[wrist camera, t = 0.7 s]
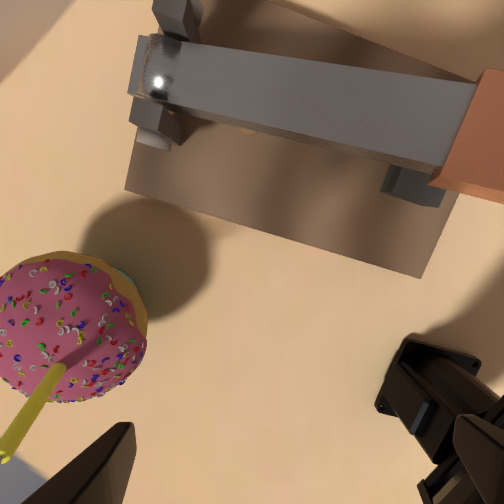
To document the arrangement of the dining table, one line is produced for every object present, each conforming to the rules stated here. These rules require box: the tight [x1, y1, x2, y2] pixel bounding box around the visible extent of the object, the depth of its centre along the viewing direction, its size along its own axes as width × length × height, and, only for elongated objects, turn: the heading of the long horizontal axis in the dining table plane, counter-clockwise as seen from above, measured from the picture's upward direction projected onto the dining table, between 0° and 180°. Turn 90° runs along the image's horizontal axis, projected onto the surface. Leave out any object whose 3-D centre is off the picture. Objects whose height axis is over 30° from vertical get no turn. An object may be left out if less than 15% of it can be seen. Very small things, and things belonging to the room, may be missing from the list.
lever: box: [127, 34, 504, 204], centre depth 11 cm, size 18×3×2 cm, turn 72°
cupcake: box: [0, 251, 148, 464], centre depth 15 cm, size 9×8×12 cm
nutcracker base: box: [124, 0, 475, 279], centre depth 16 cm, size 20×12×6 cm, turn 73°
